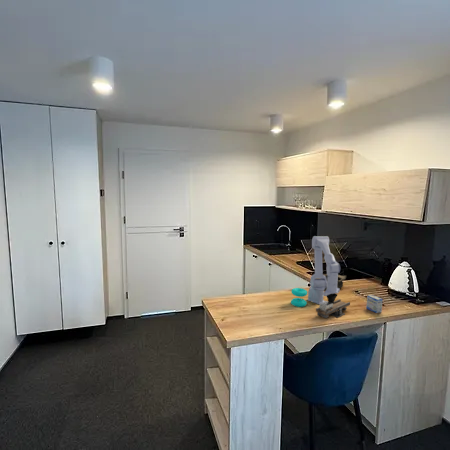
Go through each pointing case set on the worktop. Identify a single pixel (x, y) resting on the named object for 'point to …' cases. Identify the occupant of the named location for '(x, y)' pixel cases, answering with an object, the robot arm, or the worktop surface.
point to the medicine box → (374, 303)
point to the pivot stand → (338, 312)
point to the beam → (336, 307)
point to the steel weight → (326, 306)
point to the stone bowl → (340, 278)
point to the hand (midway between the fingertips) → (330, 305)
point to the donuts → (299, 301)
